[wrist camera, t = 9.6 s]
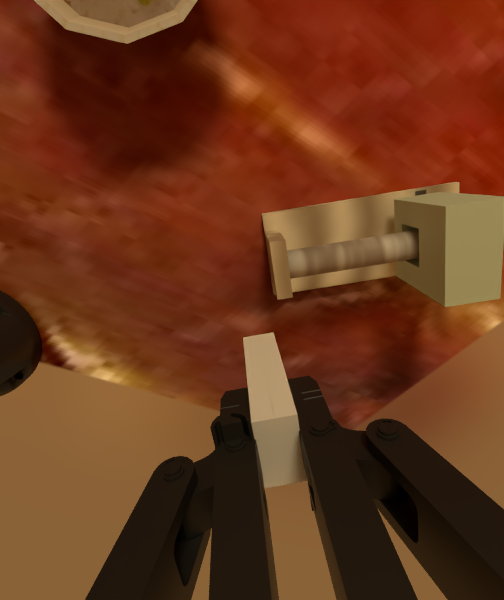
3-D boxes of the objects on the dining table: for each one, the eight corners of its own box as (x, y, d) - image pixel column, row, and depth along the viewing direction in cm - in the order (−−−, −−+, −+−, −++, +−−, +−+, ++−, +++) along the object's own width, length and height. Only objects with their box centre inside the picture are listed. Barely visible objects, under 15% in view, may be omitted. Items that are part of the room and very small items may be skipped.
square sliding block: (396, 276, 44) (444, 307, 33) (393, 199, 41) (445, 206, 31) (438, 269, 44) (500, 298, 33) (438, 191, 41) (506, 196, 30)
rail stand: (273, 292, 47) (280, 317, 39) (261, 213, 44) (266, 222, 36) (452, 263, 47) (499, 283, 38) (453, 182, 43) (505, 183, 35)
